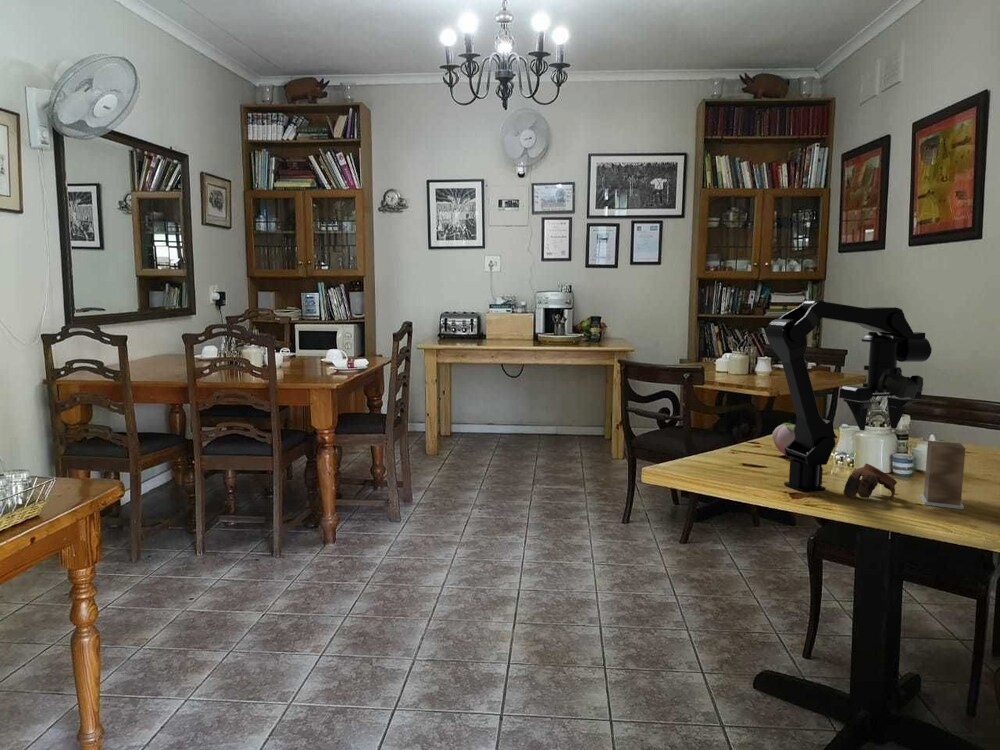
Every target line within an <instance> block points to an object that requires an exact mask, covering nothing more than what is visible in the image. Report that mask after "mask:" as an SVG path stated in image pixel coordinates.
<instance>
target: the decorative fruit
mask: <svg viewBox="0 0 1000 750" xmlns="http://www.w3.org/2000/svg"><path fill="white" fill-rule="evenodd" d="M795 425H796V424H793V423H791V420H789V422H783V423H782V424H780V425H777V427H775V429H774V430H773V431H772V434H771V435H772V441H773V443H774V446H775V448H777V450H778V451H779V452H780V453H782V454H783V455H784V456H786V454H785V450H784V449H785V448H786V447H787V446H788V445H789V444H790V442H791V441H792V440H793V439H794V438H795V433H794V428H795Z"/></svg>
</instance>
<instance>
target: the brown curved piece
mask: <svg viewBox="0 0 1000 750" xmlns="http://www.w3.org/2000/svg"><path fill="white" fill-rule="evenodd" d="M845 482H846V483H845V484H844V485H845V486H844V490H843V491H842V493H844V495H846V496H848V497H849V498H851V499H853V500H855V499H856V496H857V495H858V496H859V497H860V498H864V499H869V498H870V497H871V496H872V493H873V491H874V490H875V489H876V487H877V486H878V485H881V486H883V488H884V489H887V490H889V491H890V492H891V495H890V498H889V500H890V501H893V499H894V497H895V495H896V488H895V486H896V484H898V481H897V480H896V479H894V477H892V476H890V475H888V473H885V472H883V470H880V469H879V468H877V467H875V466H874V465H871V464H870V463H864V465H863V466H862V467H859V468H856V469H854V470H853V471H852V472H851V474H850V475H849V476H848V478H847V481H845Z"/></svg>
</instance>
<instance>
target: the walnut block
mask: <svg viewBox="0 0 1000 750" xmlns="http://www.w3.org/2000/svg"><path fill="white" fill-rule="evenodd" d="M965 459H966V447H965V446H964V445H963V444H962V443H960V442H950V441H949V442H947V441H936V440H927V448H926V461H925V471H924V472H925V473H924V474H925V475H924V486H923V494H924V496H925V498H926V500H927V502H934V503H943V504H953V505H961V503H962V493H963V483H964V482H963V481H964V469H965Z"/></svg>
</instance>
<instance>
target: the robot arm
mask: <svg viewBox="0 0 1000 750" xmlns="http://www.w3.org/2000/svg"><path fill="white" fill-rule="evenodd" d="M821 319H823V320H830V321H838V322H843V323H851V324H855V325H858V326H860V327H861V328H863V329H866V330H869V332H868V333H867V334H866V335H865V336H863V337H862V338H861V342H862V343H869V351H868V352H869V353H868V365H865V364H864V365H863V370H864V371H867V381H866V382H863V383H862V386H861V385H860V386H858V385H842V387H840V389H839V394H838V395H839V397H838V398H839V399H843V402H845V403H846V404H847V406H848V408H849V409H850V411H851V414H852V415H853V418H854V419H855V422H856V424H857V427H858V430H859V431H862V432H863V431H865V429H866V425H867V417H868V409H869V408H870V406H871V405H872V404H873V402H872V401H870V400H871V399H872V398H873V397H875V398H876V397H886V399H887V408H888V409H887V410H888V419H889V424H890V428H891V429H893V430H894V429H897V427H898V425H899V423H900V421H901V419H902V417H903V414H905V411H906V409H907V407H908V406H910V405H912V404H914V403H916V402H917V401H918V399H922V393H923V392H922V391H923V387H924V378H923V377H922V376H921V375H916V374H915V375H911V376H904V375H903V374H902V373H903V371H902V367H900V366H899V367H898V365H897V364H898V362H900V363H903V362H904V363H910V362H911V363H913V362H914V363H919V362H920V363H921V362H926V361H928V360H929V358H930V356H931V354H932V349H933V348H932V346H931V343H930V341H929V340H928V339H927V338H926V333H925V332H921V331H920V332H919V331H916V332H914V331H913V329H912V327H911V326H910V324H909V323H908V321H907V318H906V316H905V313H904V310H903V309H902V308H900V307H896V306H895V307H893V306H892V307H890V306H888V307H887V306H867V307H860V306H855V305H850V304H849V305H848V304H841V303H836V302H835V303H834V302H828V301H825V300H822V299H807V300H804V301H803V302H802V303H801V304H799V306H797V307H795V308H794V309H792V310H789V311H788V312H786V313H784V314H782V316H781V317H779V318H776V319H774V320H771V322H769V323H768V326H767V327H766V329H765V336H766V339H767V340H768V343H769V345H770V348H771V349H772V350H773V352H774V353H775V354H776V355H777V357H778V358H779V359H780V361H781V364H782V367H783V372H784V375H785V379H786V382H787V386H788V390H789V393H790V398H791V400H792V404H793V409H794V413H795V415H796V421H795V424H794V425H795V428H794V433H795V438H794V439H793V440H792V441H791V442H790V444H789V445H788V446H787V447H786V448H785V449H784V450H785V454H786V455H785V457H786V458H787V459H788V458H789V474H788V481H786V482H783V485H785V486H787V487H790V488H792V489H795V490H798V491H800V492H813V491H824V490H826V489H827V487H826V486H824V485H823V471H824V468H823V467H822V466H825V465H828V462H829V459H830V457H831V454H832V452H833V451H834V449H835V448H836V439H838V437H837V435H836V433H835V428H834V424H833V421H832V420H828V419H825V418H822V416H821V414H820V410H819V407H818V402H817V399H816V395H815V392H814V388H813V384H812V381H811V377H810V374H809V373H810V372H809V370H808V366H807V362H806V358H805V354H806V352H807V347H808V336H807V335H808V334H810V333H811V332H812V331H814V329H815V328H816V326H817V325H818V323H819V321H821Z"/></svg>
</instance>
